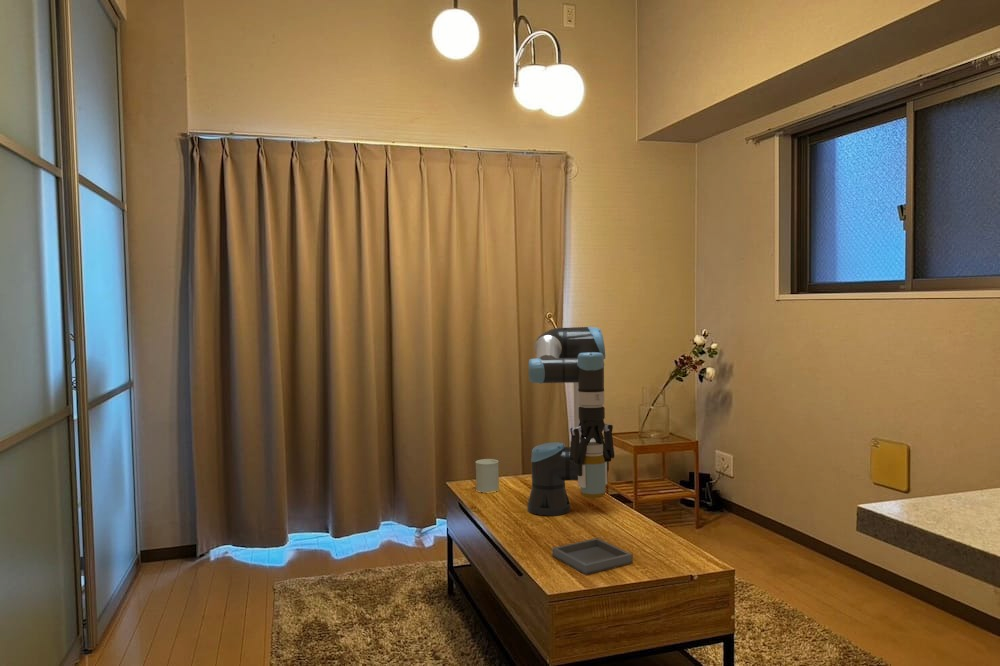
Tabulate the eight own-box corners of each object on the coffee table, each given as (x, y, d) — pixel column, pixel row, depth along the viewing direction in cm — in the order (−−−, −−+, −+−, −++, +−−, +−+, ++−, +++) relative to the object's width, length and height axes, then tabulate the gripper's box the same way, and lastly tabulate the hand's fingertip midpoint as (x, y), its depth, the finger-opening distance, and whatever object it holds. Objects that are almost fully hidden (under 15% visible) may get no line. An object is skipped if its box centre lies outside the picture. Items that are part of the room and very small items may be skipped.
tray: (552, 556, 197) (552, 548, 197) (597, 546, 205) (597, 538, 204) (585, 575, 183) (585, 565, 183) (632, 563, 190) (632, 554, 190)
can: (499, 493, 266) (498, 462, 265) (475, 493, 266) (475, 463, 265) (499, 487, 275) (498, 457, 275) (476, 487, 275) (475, 457, 274)
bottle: (590, 499, 194) (589, 446, 194) (576, 494, 200) (575, 443, 200) (610, 496, 197) (609, 444, 197) (595, 491, 203) (595, 440, 203)
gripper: (570, 409, 190) (572, 492, 190) (626, 404, 200) (628, 483, 200) (555, 407, 197) (556, 487, 197) (610, 402, 206) (611, 478, 207)
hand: (592, 485), depth 199 cm, fingers closed on bottle, 7 cm apart
